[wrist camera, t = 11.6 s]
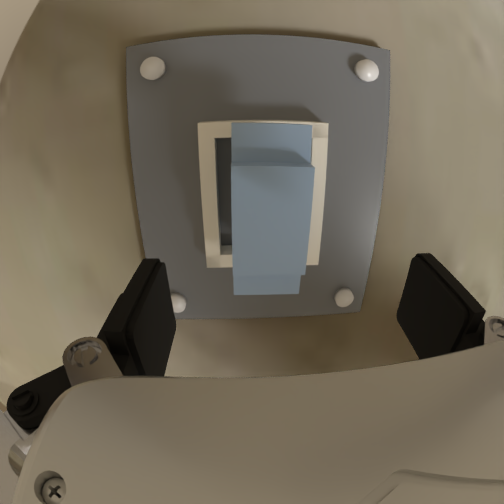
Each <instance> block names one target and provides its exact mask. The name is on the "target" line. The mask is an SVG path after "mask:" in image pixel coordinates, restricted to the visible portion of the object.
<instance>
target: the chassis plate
mask: <svg viewBox="0 0 504 504" xmlns="http://www.w3.org/2000/svg"><path fill="white" fill-rule="evenodd" d="M126 83H127V108H128V125H129V138H130V149H131V160H132V169H133V178H134V186H135V194H136V201H137V208H138V215H139V222H140V228H141V234H142V240H143V246H144V251H145V257H146V258H159V259H160V261H161V262H164V263H165V265H166V270H167V276H168V282H169V288H170V293H171V299H172V304H173V310H174V315H175V319H242V318H272V317H294V316H311V315H326V314H340V313H352V312H360V309H361V305H362V301H363V296H364V292H365V288H366V283H367V278H368V274H369V269H370V264H371V259H372V254H373V248H374V243H375V237H376V231H377V225H378V218H379V212H380V205H381V198H382V190H383V182H384V173H385V163H386V153H387V140H388V126H389V105H390V50H386V49H382V48H377V47H372V46H367V45H362V44H356V43H351V42H344V41H337V40H330V39H322V38H312V37H301V36H287V35H258V34H244V35H215V36H201V37H189V38H180V39H172V40H164V41H158V42H151V43H145V44H140V45H134V46H129V47H126ZM232 122H255V123H290V124H308V125H312V144H311V162H310V164H311V165H313V166H314V167H315V174H314V187H313V200H312V212H311V223H310V233H309V243H308V253H307V262H306V271H305V275H301V279H300V288H299V294H271V295H234V283H233V262H232V209H231V163H232V149H231V123H232Z"/></svg>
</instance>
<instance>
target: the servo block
mask: <svg viewBox="0 0 504 504" xmlns="http://www.w3.org/2000/svg"><path fill="white" fill-rule="evenodd" d="M311 144H312V125H308V124H290V123H255V122H232V123H231V149H232V163H231V209H232V262H233V283H234V295H271V294H299V288H300V279H301V275H305V271H306V262H307V253H308V243H309V233H310V223H311V212H312V200H313V187H314V174H315V167H314V166H313V165H311V164H310V162H311Z"/></svg>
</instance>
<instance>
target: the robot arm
mask: <svg viewBox="0 0 504 504" xmlns="http://www.w3.org/2000/svg"><path fill="white" fill-rule="evenodd" d="M485 312H486V311H485V309H484V308H483V307H482V306H481V305H480V304H479V303H478V302H477V301H476V299H475V298H474V297H473V296H472V295H471V294H470V293H469V292H468V291H467V290H466V289H465V288H464V286H463V285H462V284H461V283H460V282H459V281H458V280H457V279H456V278H455V277H454V276H453V275H452V274H451V273H450V272H449V271H448V270H447V269H446V268H445V267H444V266H443V265H442V264H441V263H440V262H439V261H438V260H437V259H436V258H435V257H434V256H433V255H432V254H430V253H419V254H416V256H415V257H414V258H412V260H411V264H410V268H409V272H408V276H407V280H406V283H405V287H404V290H403V294H402V297H401V301H400V304H399V308H398V311H397V320H398V322H399V324H400V326H401V327H402V329H403V331H404V333H405V334H406V336H407V338H408V339H409V341H410V343H411V345H412V346H413V348H414V350H415V352H416V354H417V355H418V357H419V359H420V360H415V361H409V362H403V363H398V364H392V365H385V366H379V367H372V368H365V369H357V370H349V371H340V372H330V373H319V374H307V375H293V376H276V377H248V378H205V377H166V376H164V374H165V370H166V366H167V362H168V358H169V354H170V350H171V346H172V342H173V338H174V335H175V331H176V320H175V315H174V310H173V304H172V299H171V293H170V288H169V282H168V276H167V270H166V265H165V263H164V262H161V261H160V259H159V258H145V259H143V260H142V262H141V263H140V265H139V267H138V268H137V270H136V272H135V274H134V275H133V277H132V279H131V280H130V282H129V284H128V286H127V287H126V289H125V291H124V293H122V294H121V295H120V296H119V298H118V299H117V301H116V303H115V305H114V306H113V308H112V310H111V312H110V314H109V315H108V317H107V319H106V321H105V323H104V325H103V327H102V328H101V330H100V332H99V334H98V336H97V338H95V337H84V338H80V339H77V340H76V341H74V342H72V343H71V344H70V345H69V346H67V348H66V349H65V351H64V353H63V356H62V358H63V364H64V365H63V366H61V367H59V368H57V369H55V370H53V371H51V372H49V373H46V374H44V375H42V376H40V377H38V378H36V379H34V380H32V381H30V382H28V383H26V384H24V385H22V386H20V387H18V388H17V389H15V390H14V391H13V392H12V393H11V394H10V396H9V398H8V401H7V411H5V412H4V413H3V412H2V410H0V504H504V319H503V318H501V317H498V316H490V317H488V318H487V319H486V321H485V322H484V321H483V320H482V319H483V316H484V314H485Z"/></svg>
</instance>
